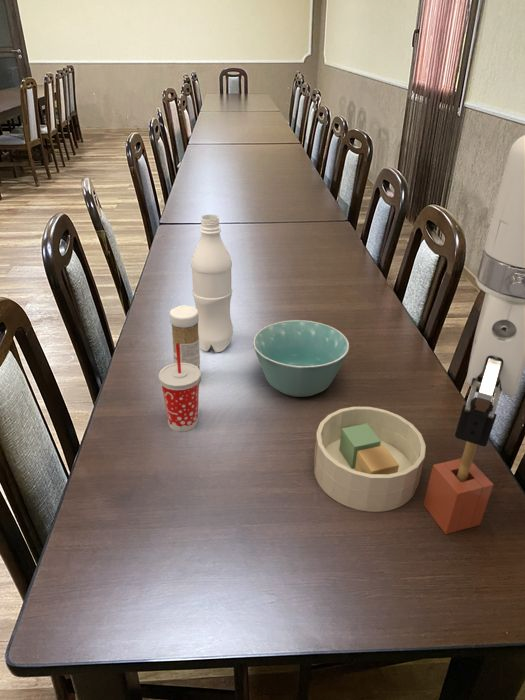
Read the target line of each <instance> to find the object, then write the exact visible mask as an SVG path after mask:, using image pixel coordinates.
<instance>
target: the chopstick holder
mask: <svg viewBox="0 0 525 700" xmlns="http://www.w3.org/2000/svg"><path fill="white" fill-rule="evenodd" d="M461 459H462V457H461V458H456V459H452V460H448V461H444V462H443V461H442V462H438V463H435V464H433V465H432V468H431V472H430V476H429V481H428V484H427V488H426V493H425V496H424V501H423V506H424V508H425V509H426V511H427V512H428V513H429V514H430V516H431V517H432V518H433V520H434V521H435V522H436V524H437V525H438V526H439V528H440V529H441V530H442V532H443V533H444V535H450V534H453V533H456V532H459V531H463V530H466V529H470V528H474V527H477V526H478V527H479V526H480V525H481V523H482V521H483V518H484V514H485V511H486V508H487V506H488V502H489V499H490V496H491V493H492V491H493V487H494V484H493V482H492V481H491V480H490V479H489V478H488V477H487V475H485V474H484V472H483V471H482V470H481V469H480V468H479V467H478V466H477V465H476V464H475V463H474V462H473V461H472V464H471V468H470V471H469V474H468V478H467V481H464V482H460V481H459V480H458V478H457V473H458V470H459V466H460V463H461Z"/></svg>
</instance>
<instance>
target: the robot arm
mask: <svg viewBox="0 0 525 700" xmlns="http://www.w3.org/2000/svg"><path fill="white" fill-rule="evenodd" d="M500 181H501V182H500V186H499V190H498V193H497V197H496V201H495V205H494V208H493V209H494V210H493V212H492V216H491V221H490V224H489V228H488V232H487V235H486V239H485V244H484V248H483V251H482V254H481V259H480V262H479V266H478V270H477V273H476V277H475V284H476V285H477V287H478V288H479V289H480V290H481V291H483V292H484V293H485V294H484V298H483V302H482V305H481V309H480V312H479V317H478V321H477V324H476V328H475V333H474V337H473V341H472V347H471V352H470V356H469V362H468V368H467V375H466V379H465V381H466V383H467V384H468V385H469V394H468V396H467V397H468V398H467V400H466V404H463V405H462V408H461V412H460V415H459V419H458V422H457V426H456V428H455V429H456V430H455V434H454V437H455V438H456V439H458V440H461V441H465V442H467V441H468V442H471V443H474V444H477V446H480V447H486V446H487V445H488V442H489V439H490V436H491V433H492V430H493V428H494V424H495V421H496V418H497V413H496V411H497V406H498V404H499V400H500V396H501V393H502V395H505V396H508V398H513V397H515V396H517V393H518V391H519V386H520V383H521V380H522V377H523V373H524V370H525V134H523V135H522V136H520V137H519V138H517V139H516V140H515V141H514V142H513V144H512V146H511V147H510V149H509V153H508V155H507V158H506V163H505V166H504V170H503V174H502V178H501V180H500ZM476 393H478V394H477V397H476Z"/></svg>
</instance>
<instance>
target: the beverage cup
mask: <svg viewBox="0 0 525 700" xmlns="http://www.w3.org/2000/svg"><path fill="white" fill-rule="evenodd" d="M176 352H177V363H174V362H173V363H169V364H167V365H166V366H164V367H162V368H161V369H160V371H159V372H158V382H159V383H160V385H161V390H162V396H163V403H164V405H165V406H164V408H165V414H166V419H167V425H168V427H169V428H170V429H171V430H173V431H175V432H188V431H191V430H193V429H194V428H196V427H197V425H198V424H199V394H200V393H199V390H200V382H201V381H202V375H201V369H200V370H199V368H198V367H197V366H195V365H193V364H189V363H181V362H180V348H179V343H177V344H176ZM200 377H201V378H200ZM199 381H200V382H199Z"/></svg>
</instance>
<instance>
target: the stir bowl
mask: <svg viewBox="0 0 525 700" xmlns="http://www.w3.org/2000/svg"><path fill="white" fill-rule="evenodd" d="M362 424H368V425H369V426H370V428H371V429H372V430H373V431H374V433H375V434H376V435H377V437H378V438H379V439H380V441H381V444H380V446H383V445H384V446H385V447H386V449H387V450H388V451H389V453H390V454H391V455H392V456H393V458H394V459H395V460H396V462H397V463H398V464H399V468H398V472H397V473H392V474H388V475H387V474H368V473H363V472H359V471H355V468H353V469H351V467H350V466H349V464H348V463H347V461H346V460H345V458H344V457H343V455H342V454H341V452H340V450H339V448H340V440H341V432H342V428H347V427H352V426H357V425H362ZM426 447H427V446H426V443H425V440H424V437H423V434H422V433H421V432H420V431H419V430H418V429H417V427H415V425H414V424H413V423H411V422H410V421H409V420H407V419H406V418H404V417H403V416H401V415H399V414H396V413H395V412H391V411H389V410H387V409H384V408H383V409H382V408H378V407H372V406H350V407H343V408H339V409H337V410H336V411H334V412H331V413H329V414H328V415H326V416H325V417H324V418H323V419H322V420H321V422H320V423H319V424H318V428H317V430H316V433H315V445H314V453H313V474H314V478H315V480H316V481H317V484H318V485H319V487H320V488H321V489H322V491H323V492H324V493H325V494H326V495H327V496H329V498H331V499H332V500H334V501H336V502H337V503H339V504H341V505H343V506H345V507H346V508H347V507H348V508H350V509H353V510H357V511H362V512H368V513H380V512H389V511H392V510H395V509H398V508H400V507H402V506H404V505H406V504H407V503H408V502H409V501H410V500H412V498H413V497H414V496H415V495H416V492H417V489H418V486H419V483H420V479H421V475H422V470H423V466H424V462H425V458H426V449H427V448H426Z"/></svg>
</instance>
